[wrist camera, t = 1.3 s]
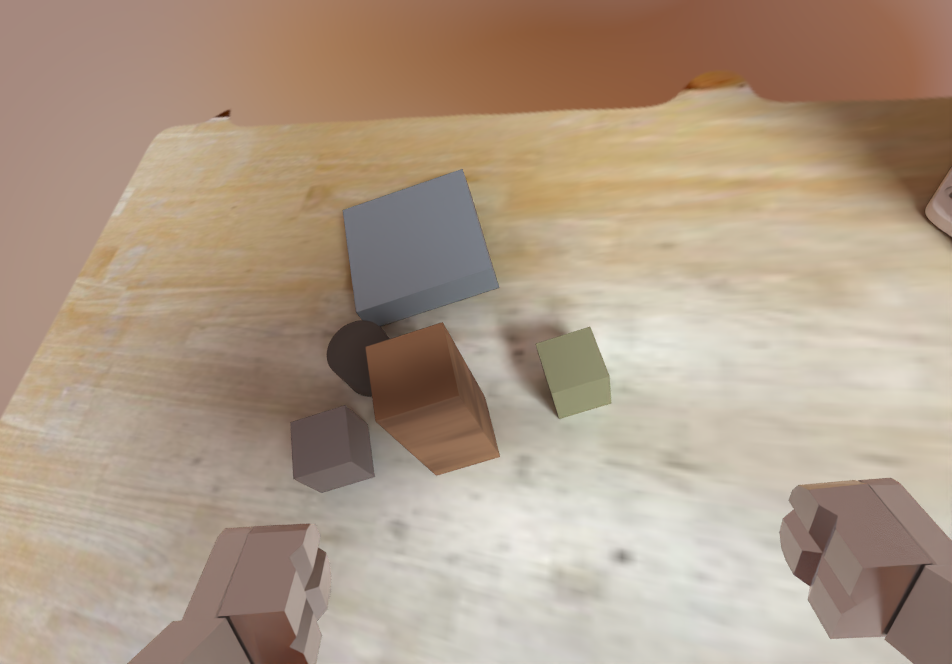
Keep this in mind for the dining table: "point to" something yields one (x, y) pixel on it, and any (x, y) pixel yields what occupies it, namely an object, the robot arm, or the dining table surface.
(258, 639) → the robot arm
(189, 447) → the dining table surface
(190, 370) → the dining table surface
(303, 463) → the mauve grey cube
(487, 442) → the walnut block
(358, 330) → the charcoal cylinder
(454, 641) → the dining table surface
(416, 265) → the slate riser
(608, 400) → the olive block
